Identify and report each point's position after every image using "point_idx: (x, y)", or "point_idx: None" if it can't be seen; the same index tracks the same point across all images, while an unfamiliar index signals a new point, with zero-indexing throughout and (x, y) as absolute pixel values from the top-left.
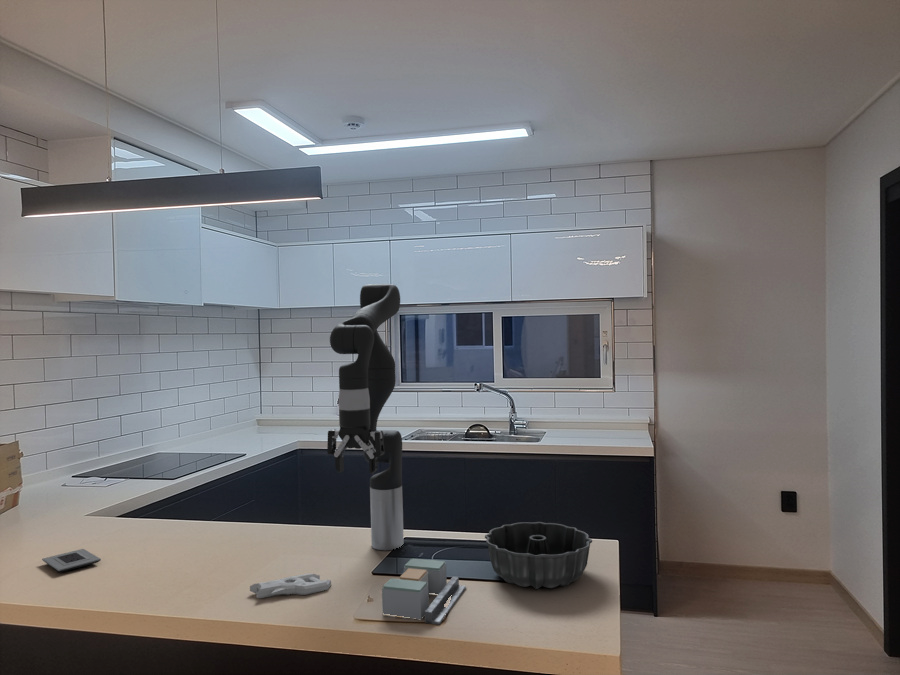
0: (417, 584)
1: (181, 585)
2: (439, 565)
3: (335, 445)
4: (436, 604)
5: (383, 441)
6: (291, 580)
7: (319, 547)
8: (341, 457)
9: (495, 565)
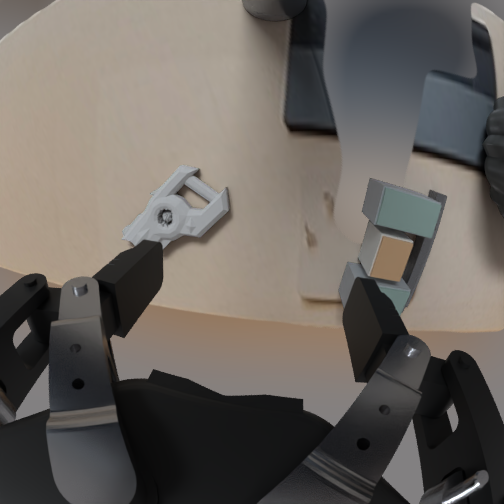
0: (396, 303)
1: (50, 216)
2: (432, 224)
3: (20, 323)
4: (410, 292)
5: (501, 432)
6: (164, 208)
7: (147, 31)
8: (121, 312)
9: (493, 185)
